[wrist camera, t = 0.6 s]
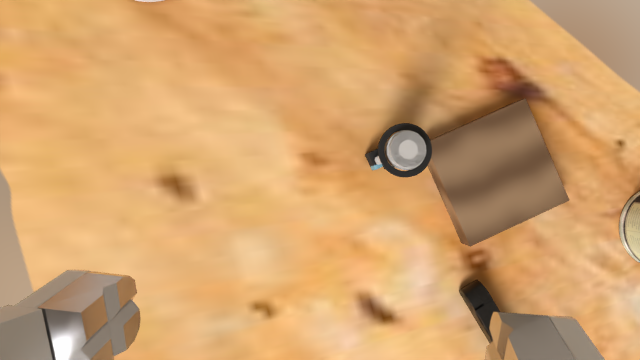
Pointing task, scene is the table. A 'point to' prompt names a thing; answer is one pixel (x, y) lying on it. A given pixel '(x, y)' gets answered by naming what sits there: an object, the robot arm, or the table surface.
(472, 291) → the black bar
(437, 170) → the plinth
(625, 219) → the coffee can
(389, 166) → the push button
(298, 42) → the table surface
